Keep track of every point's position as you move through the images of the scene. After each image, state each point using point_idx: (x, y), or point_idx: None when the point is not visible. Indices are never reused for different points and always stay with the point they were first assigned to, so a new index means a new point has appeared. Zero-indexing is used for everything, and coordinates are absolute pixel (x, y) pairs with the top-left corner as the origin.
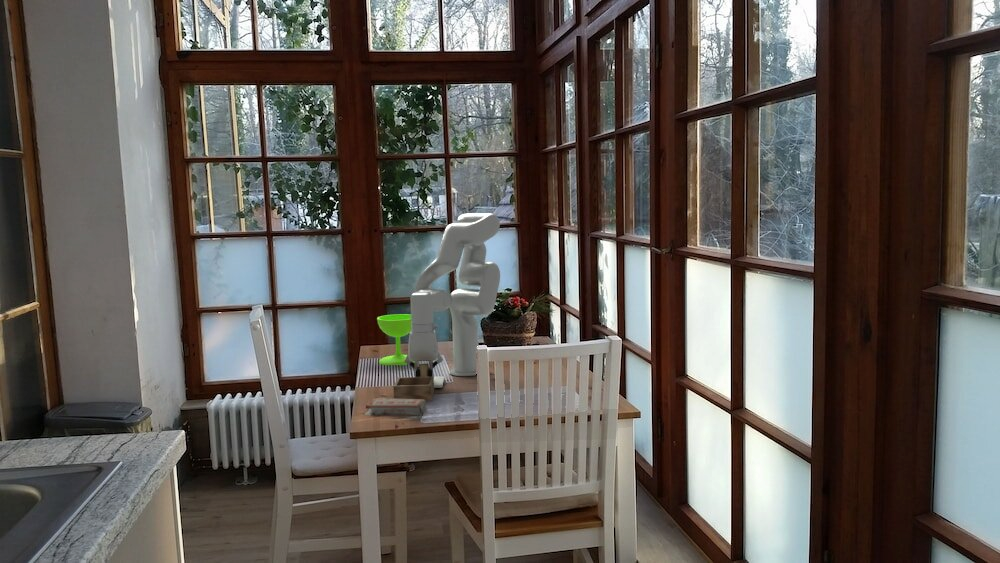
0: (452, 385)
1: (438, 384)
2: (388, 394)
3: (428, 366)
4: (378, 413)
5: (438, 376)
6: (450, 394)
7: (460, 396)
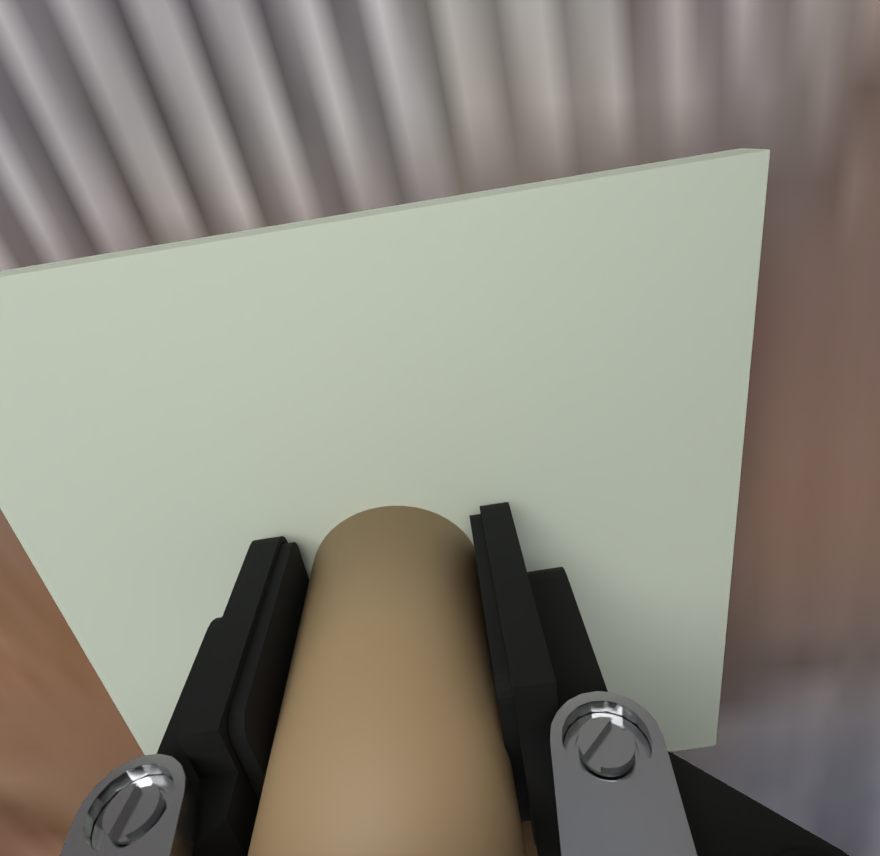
0: (836, 343)
1: (662, 720)
2: (56, 782)
3: (525, 852)
4: None
5: (626, 176)
6: (770, 733)
7: (869, 778)
